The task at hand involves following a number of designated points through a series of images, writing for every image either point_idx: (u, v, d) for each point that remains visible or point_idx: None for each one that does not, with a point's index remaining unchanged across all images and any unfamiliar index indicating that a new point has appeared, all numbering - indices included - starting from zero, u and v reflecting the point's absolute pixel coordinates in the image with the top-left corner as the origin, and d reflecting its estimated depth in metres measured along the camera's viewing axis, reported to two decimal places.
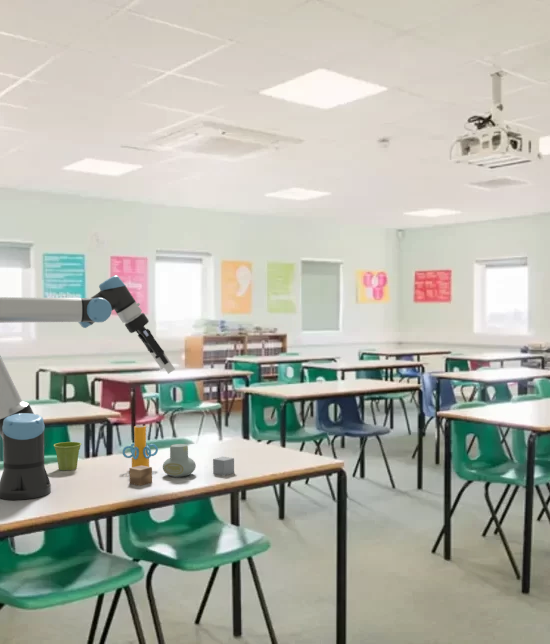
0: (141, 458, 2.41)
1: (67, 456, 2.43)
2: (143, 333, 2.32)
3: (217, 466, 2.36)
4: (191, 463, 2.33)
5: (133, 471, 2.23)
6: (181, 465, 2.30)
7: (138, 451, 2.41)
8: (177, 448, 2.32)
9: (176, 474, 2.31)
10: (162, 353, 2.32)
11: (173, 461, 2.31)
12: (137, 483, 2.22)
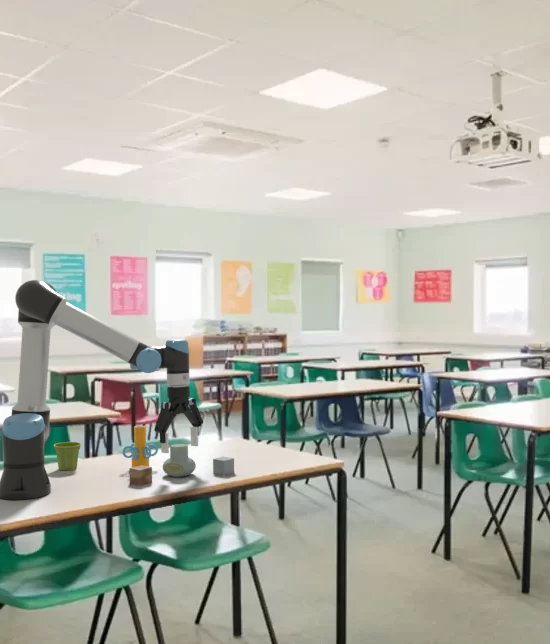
0: (141, 458, 2.41)
1: (67, 456, 2.43)
2: (162, 404, 2.30)
3: (217, 466, 2.36)
4: (191, 463, 2.33)
5: (133, 471, 2.23)
6: (181, 465, 2.30)
7: (138, 451, 2.41)
8: (177, 448, 2.32)
9: (176, 474, 2.31)
10: (158, 431, 2.27)
11: (173, 461, 2.31)
12: (137, 483, 2.22)
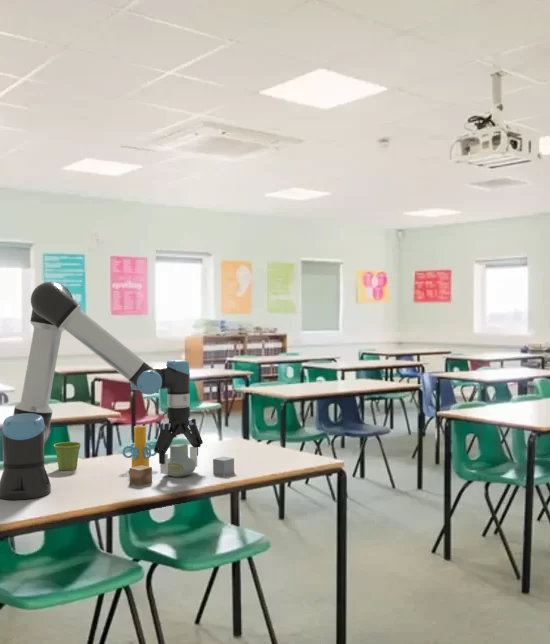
0: (141, 458, 2.41)
1: (67, 456, 2.43)
2: (162, 424, 2.30)
3: (217, 466, 2.36)
4: (191, 463, 2.33)
5: (133, 471, 2.23)
6: (181, 465, 2.30)
7: (138, 451, 2.41)
8: (177, 448, 2.32)
9: (176, 474, 2.31)
10: (158, 452, 2.27)
11: (173, 461, 2.31)
12: (137, 483, 2.22)
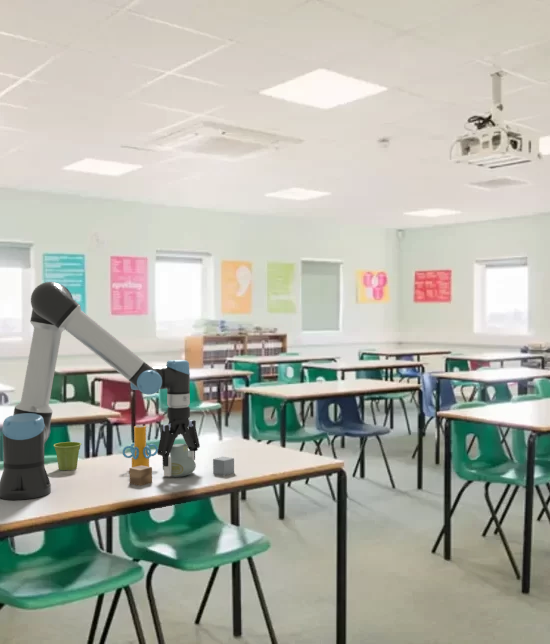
0: (141, 458, 2.41)
1: (67, 456, 2.43)
2: (162, 426, 2.30)
3: (217, 466, 2.36)
4: (191, 463, 2.33)
5: (133, 471, 2.23)
6: (181, 464, 2.30)
7: (138, 451, 2.41)
8: (177, 448, 2.32)
9: (176, 474, 2.31)
10: (161, 455, 2.28)
11: (173, 461, 2.31)
12: (137, 483, 2.22)
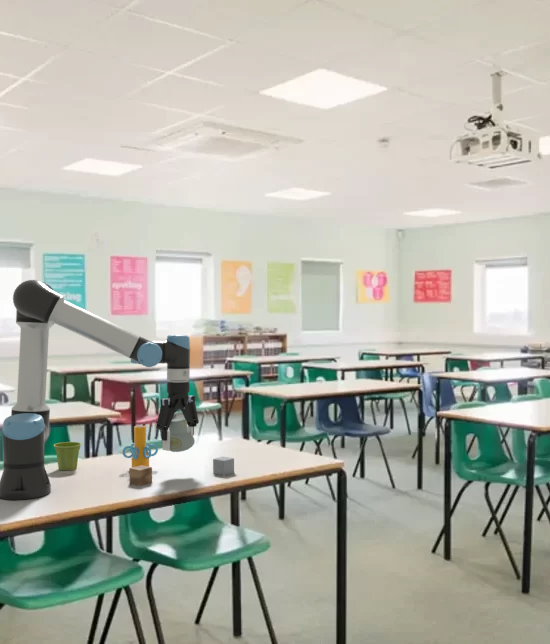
0: (141, 458, 2.41)
1: (67, 456, 2.43)
2: (161, 400, 2.30)
3: (217, 466, 2.36)
4: (190, 438, 2.32)
5: (133, 471, 2.23)
6: (179, 439, 2.30)
7: (138, 451, 2.41)
8: (176, 422, 2.32)
9: (174, 448, 2.31)
10: (160, 429, 2.28)
11: (172, 435, 2.31)
12: (137, 483, 2.22)
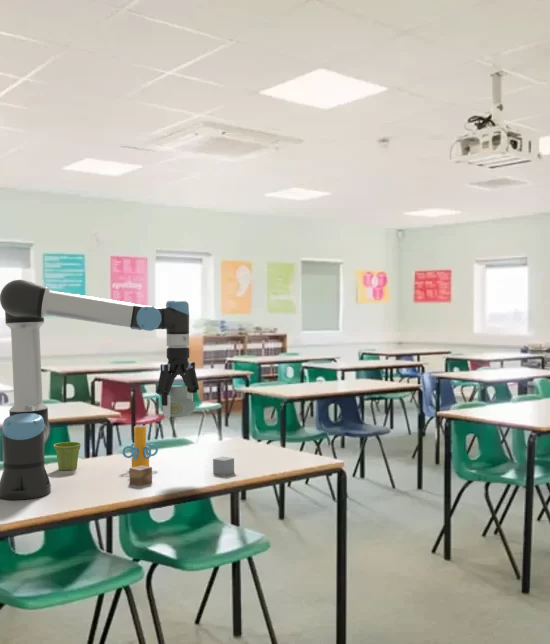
0: (141, 458, 2.41)
1: (67, 456, 2.43)
2: (161, 366, 2.30)
3: (217, 466, 2.36)
4: (190, 403, 2.32)
5: (133, 471, 2.23)
6: (180, 404, 2.30)
7: (138, 451, 2.41)
8: (176, 388, 2.32)
9: (175, 414, 2.31)
10: (161, 394, 2.28)
11: (172, 401, 2.31)
12: (137, 483, 2.22)
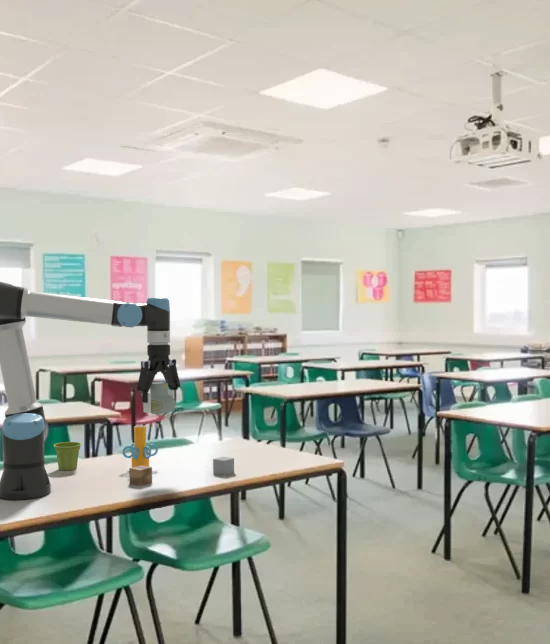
0: (141, 458, 2.41)
1: (67, 456, 2.43)
2: (141, 363, 2.30)
3: (217, 466, 2.36)
4: (171, 400, 2.32)
5: (133, 471, 2.23)
6: (160, 401, 2.30)
7: (138, 451, 2.41)
8: (157, 385, 2.32)
9: (155, 410, 2.31)
10: (141, 391, 2.28)
11: (153, 397, 2.31)
12: (137, 483, 2.22)
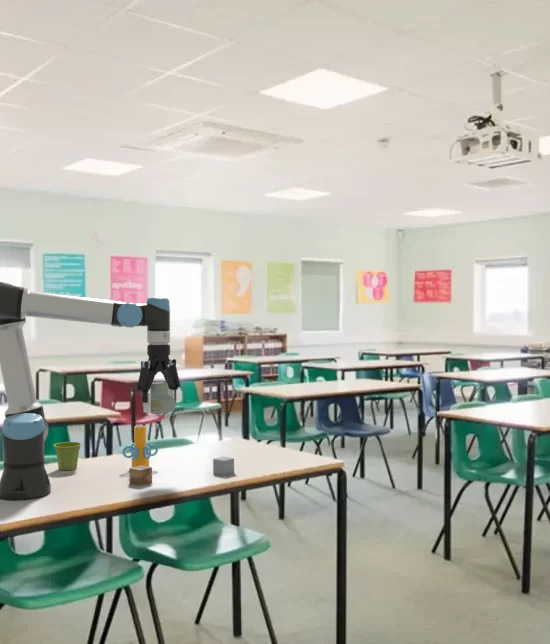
0: (141, 458, 2.41)
1: (67, 456, 2.43)
2: (141, 363, 2.30)
3: (217, 466, 2.36)
4: (171, 400, 2.32)
5: (133, 471, 2.23)
6: (160, 401, 2.30)
7: (138, 451, 2.41)
8: (157, 385, 2.32)
9: (155, 410, 2.31)
10: (141, 391, 2.28)
11: (153, 397, 2.31)
12: (137, 483, 2.22)
